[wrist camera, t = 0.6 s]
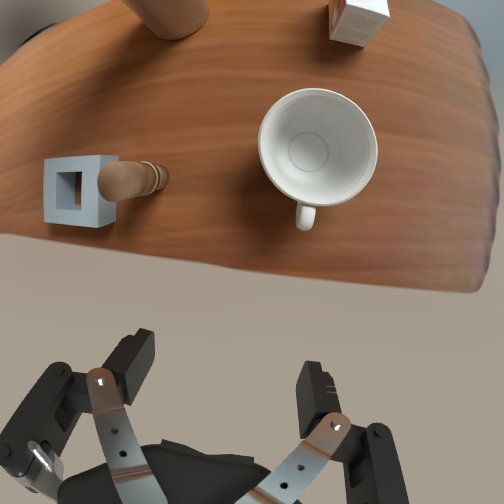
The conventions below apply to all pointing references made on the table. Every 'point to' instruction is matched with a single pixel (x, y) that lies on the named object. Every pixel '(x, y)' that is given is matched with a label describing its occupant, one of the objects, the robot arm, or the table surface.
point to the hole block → (63, 192)
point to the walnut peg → (130, 179)
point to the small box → (356, 20)
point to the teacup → (317, 149)
